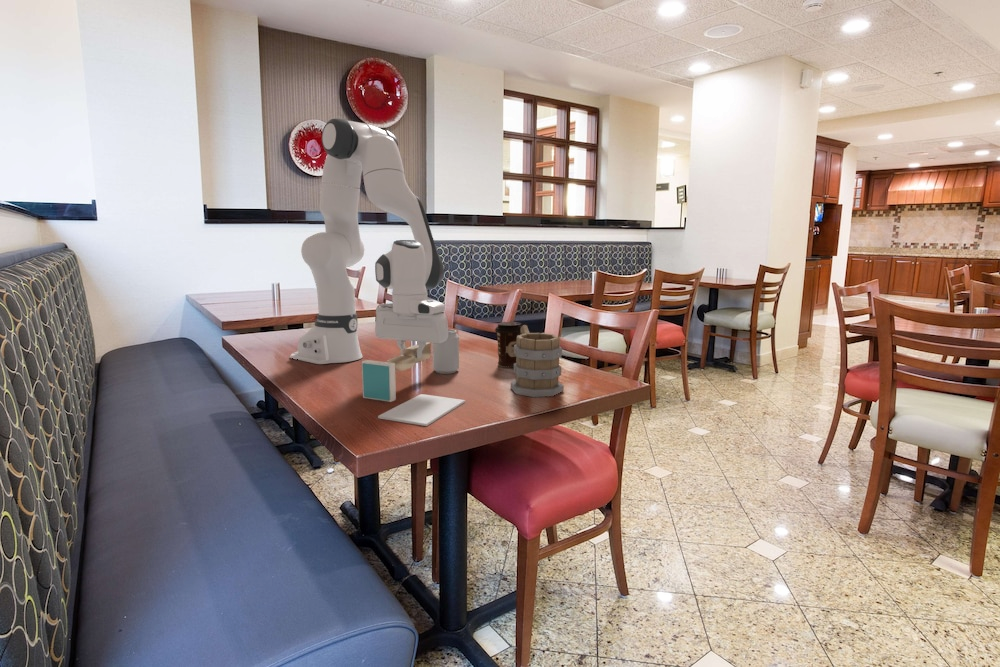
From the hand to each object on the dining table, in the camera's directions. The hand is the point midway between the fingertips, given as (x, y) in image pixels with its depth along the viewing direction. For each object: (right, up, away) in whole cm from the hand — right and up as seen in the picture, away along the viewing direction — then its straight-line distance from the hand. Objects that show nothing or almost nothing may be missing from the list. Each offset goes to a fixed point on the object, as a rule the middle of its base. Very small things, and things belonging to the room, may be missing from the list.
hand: (411, 357), depth 144 cm
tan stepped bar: (0, -2, 0) cm, 2 cm away
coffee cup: (+26, -4, +22) cm, 34 cm away
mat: (+6, -11, -19) cm, 23 cm away
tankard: (+32, -8, +1) cm, 33 cm away
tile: (-6, -5, -12) cm, 15 cm away
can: (+7, -5, +15) cm, 18 cm away
